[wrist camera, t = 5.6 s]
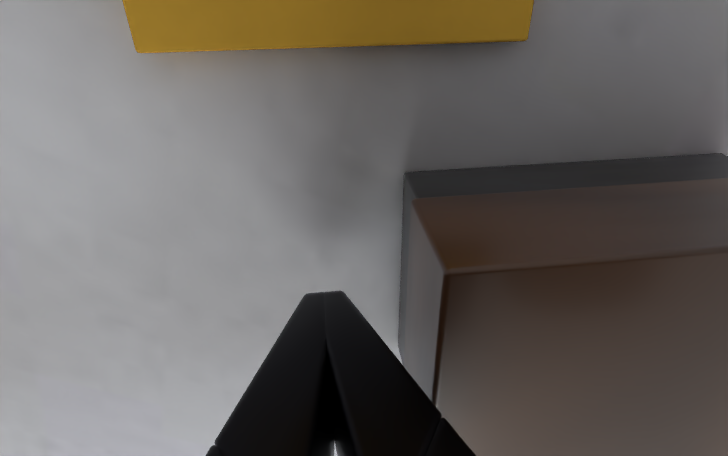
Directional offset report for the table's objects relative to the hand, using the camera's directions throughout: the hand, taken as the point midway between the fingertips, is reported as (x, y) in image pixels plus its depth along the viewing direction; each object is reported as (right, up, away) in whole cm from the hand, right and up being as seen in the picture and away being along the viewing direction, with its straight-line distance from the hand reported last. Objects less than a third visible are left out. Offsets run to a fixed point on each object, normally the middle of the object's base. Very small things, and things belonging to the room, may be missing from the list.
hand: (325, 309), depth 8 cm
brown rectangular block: (+5, +1, +1) cm, 5 cm away
